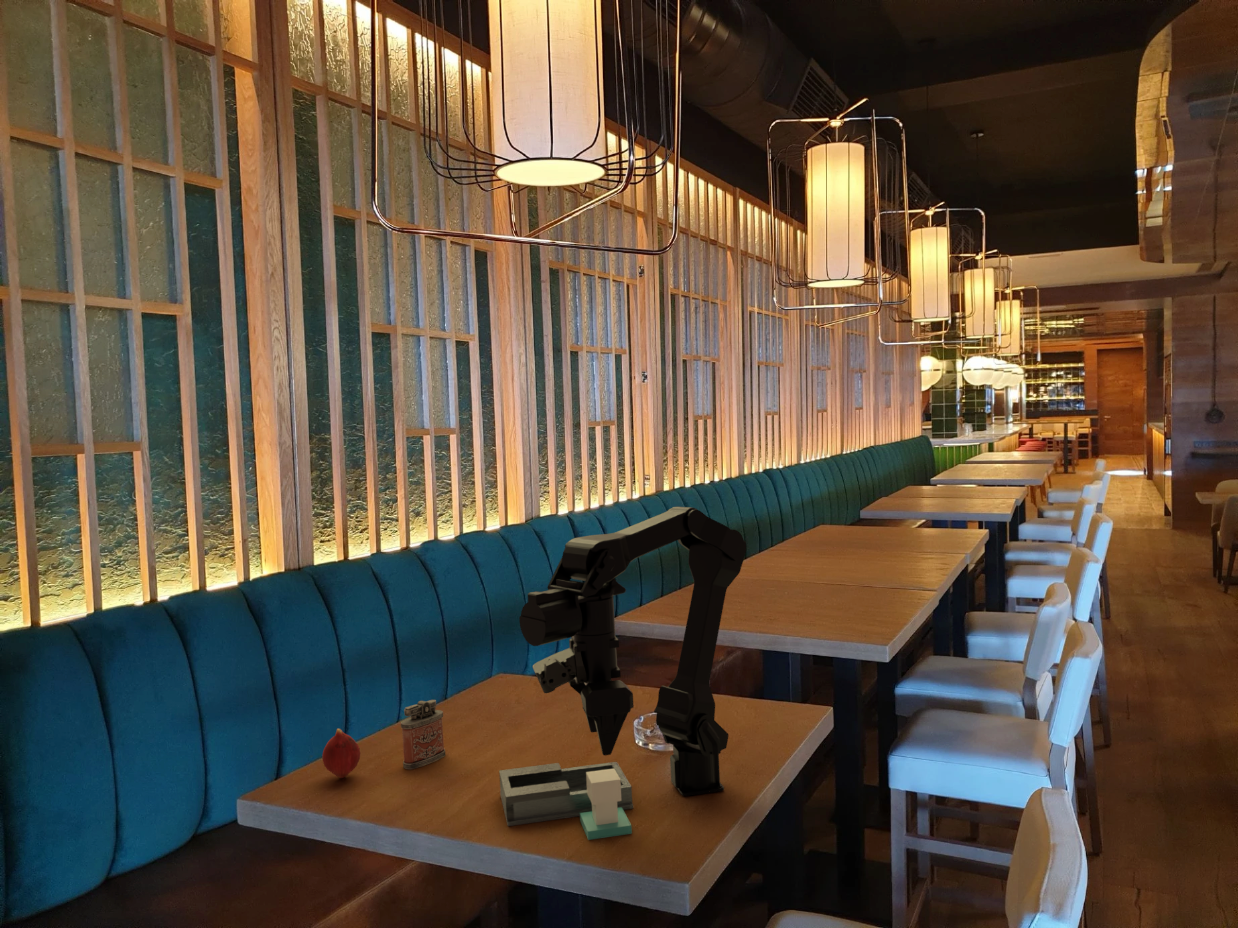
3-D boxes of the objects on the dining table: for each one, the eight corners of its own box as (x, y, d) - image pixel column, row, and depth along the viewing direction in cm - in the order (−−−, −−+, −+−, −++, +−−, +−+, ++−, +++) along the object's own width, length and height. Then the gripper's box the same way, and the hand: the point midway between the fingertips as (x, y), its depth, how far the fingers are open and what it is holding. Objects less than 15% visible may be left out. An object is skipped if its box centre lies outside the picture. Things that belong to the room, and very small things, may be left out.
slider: (622, 815, 131) (619, 764, 130) (631, 833, 125) (629, 780, 125) (580, 821, 130) (577, 770, 129) (588, 840, 124) (585, 786, 123)
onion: (368, 771, 151) (365, 724, 151) (348, 785, 146) (344, 736, 146) (338, 769, 153) (334, 721, 153) (316, 783, 148) (313, 734, 147)
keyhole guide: (616, 779, 143) (615, 754, 143) (633, 808, 133) (631, 780, 132) (500, 794, 140) (499, 769, 139) (507, 826, 129) (506, 798, 129)
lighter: (437, 751, 159) (433, 694, 159) (449, 755, 157) (446, 697, 157) (398, 766, 153) (395, 707, 153) (411, 770, 151) (408, 710, 151)
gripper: (527, 621, 133) (533, 727, 134) (543, 653, 115) (551, 776, 116) (603, 614, 136) (609, 718, 137) (631, 644, 117) (637, 764, 118)
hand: (600, 742), depth 127 cm, fingers open, 9 cm apart
